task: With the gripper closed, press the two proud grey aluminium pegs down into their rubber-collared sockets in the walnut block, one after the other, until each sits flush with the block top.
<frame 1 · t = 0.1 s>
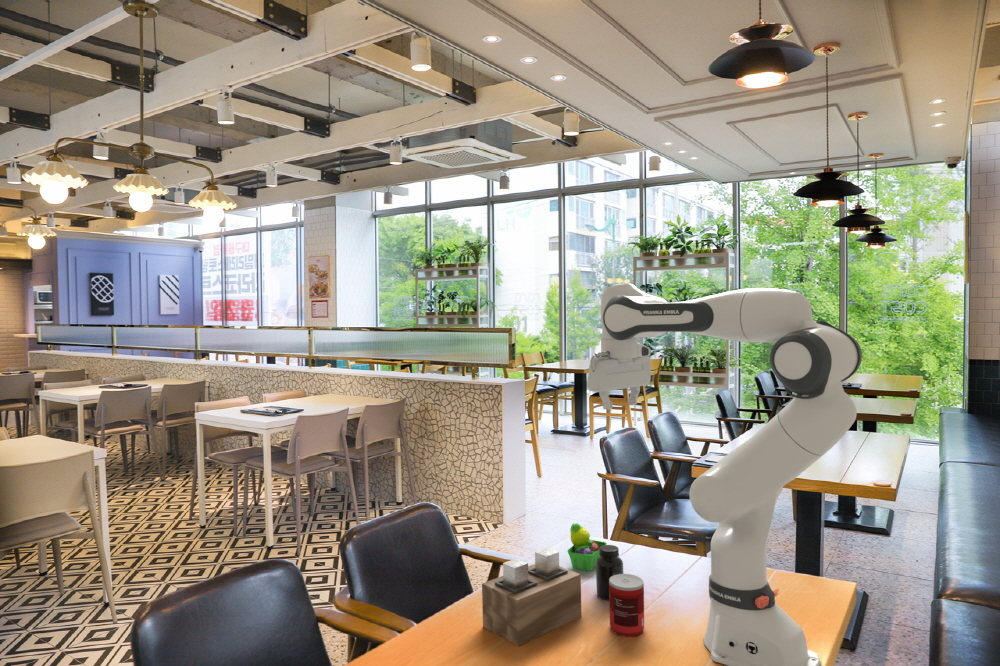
hand: (620, 407, 162), 48 cm above the table, fingers open, 8 cm apart
peg b: (515, 582, 149), point 10 cm above the table, slide at 0.0 cm
fruit basket: (585, 564, 187), on the table
socket block: (532, 621, 153), on the table
canned food: (627, 629, 149), on the table
peg a: (547, 570, 156), point 10 cm above the table, slide at 0.0 cm
supplement bottle: (610, 595, 166), on the table
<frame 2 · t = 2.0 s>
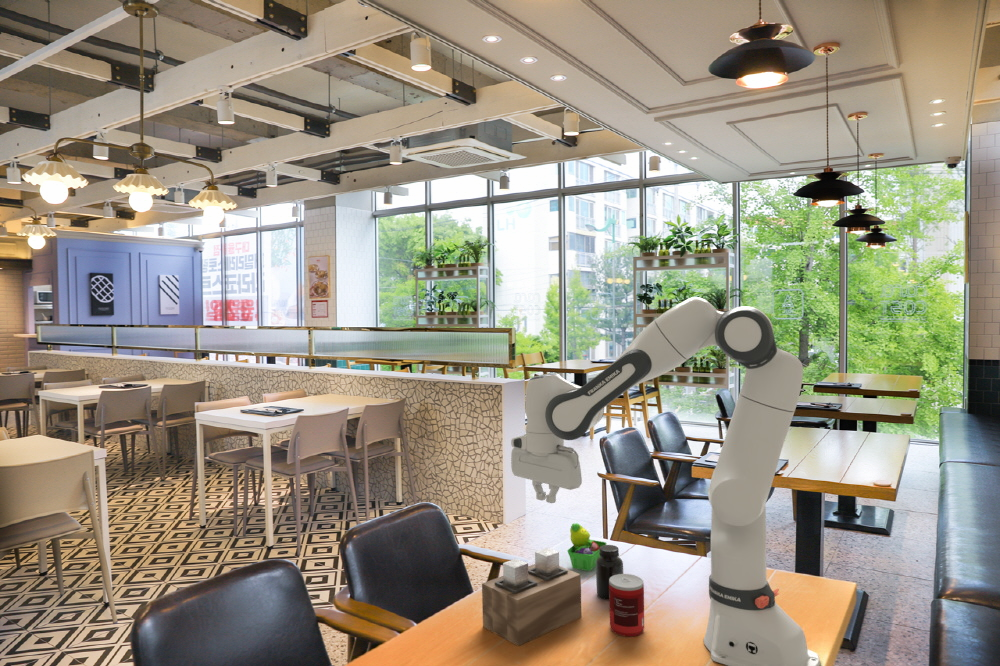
hand: (546, 501, 155), 27 cm above the table, fingers closed
nothing on the table moved.
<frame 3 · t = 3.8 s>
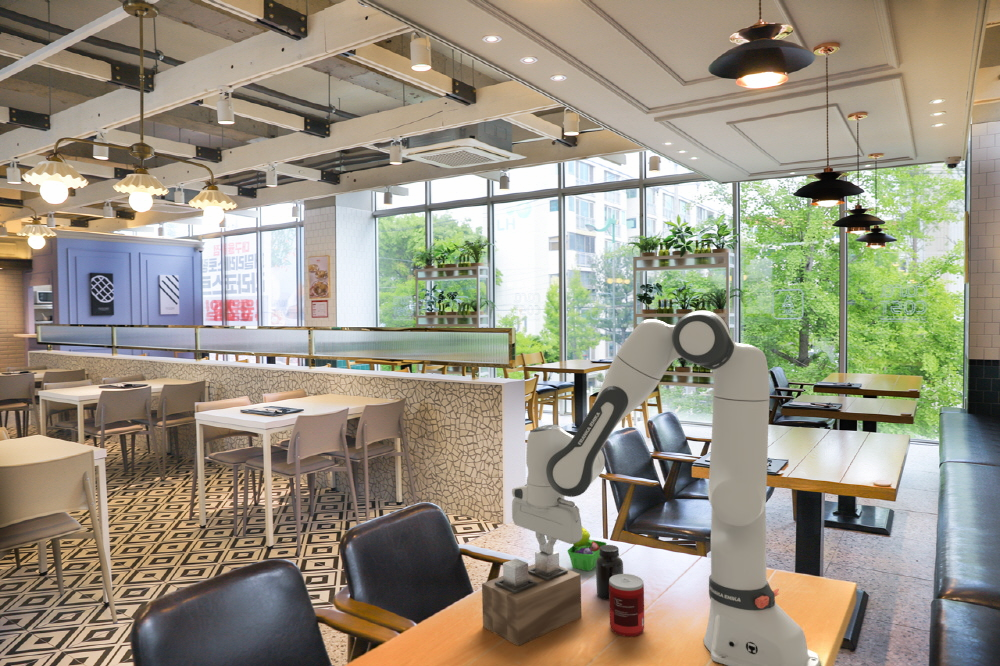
hand: (546, 552, 156), 15 cm above the table, fingers closed, pressing on peg a
peg a: (547, 571, 156), point 10 cm above the table, slide at 0.1 cm, touching gripper
everything else where it was.
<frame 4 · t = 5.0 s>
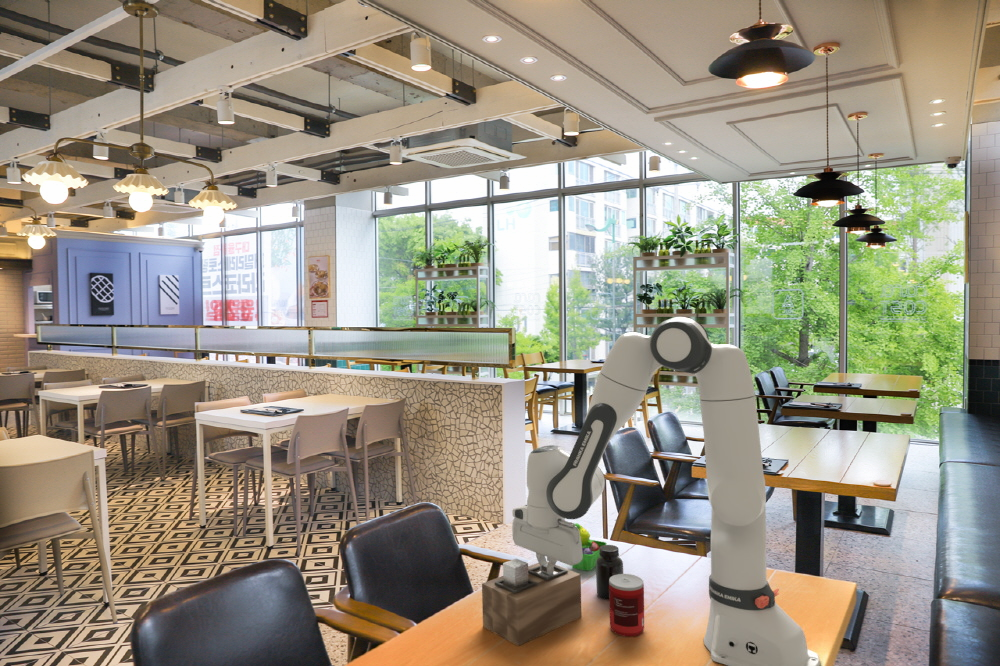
hand: (546, 572, 156), 10 cm above the table, fingers closed, pressing on peg a
peg a: (547, 591, 156), point 5 cm above the table, slide at 5.0 cm, touching gripper
everything else where it was.
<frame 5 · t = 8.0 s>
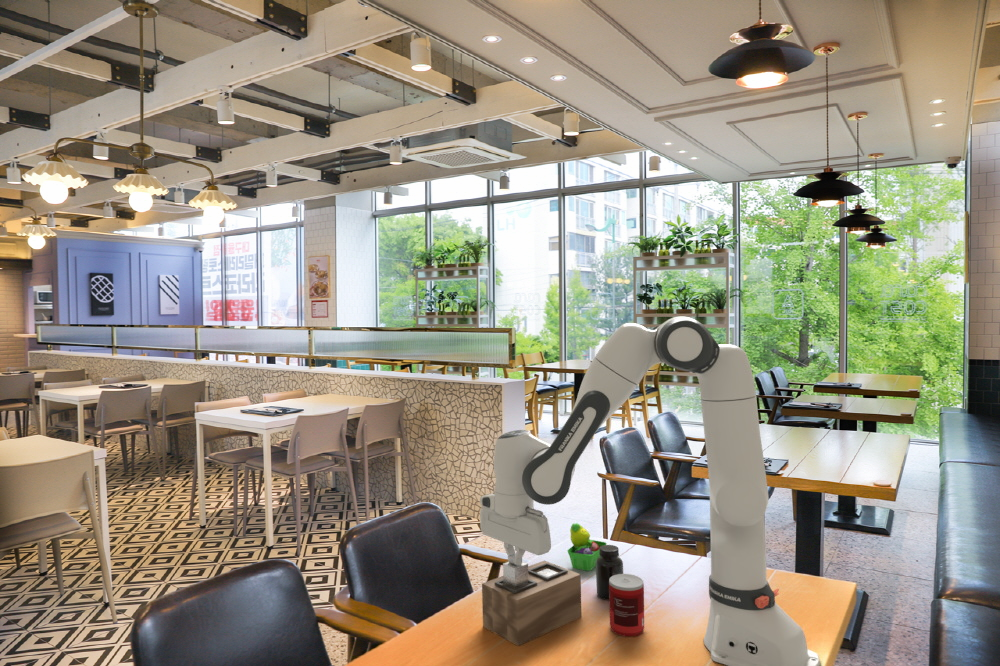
hand: (515, 563, 149), 15 cm above the table, fingers closed, pressing on peg b
peg b: (515, 583, 149), point 10 cm above the table, slide at 0.1 cm, touching gripper
peg a: (547, 591, 156), point 5 cm above the table, slide at 5.0 cm
everything else where it was.
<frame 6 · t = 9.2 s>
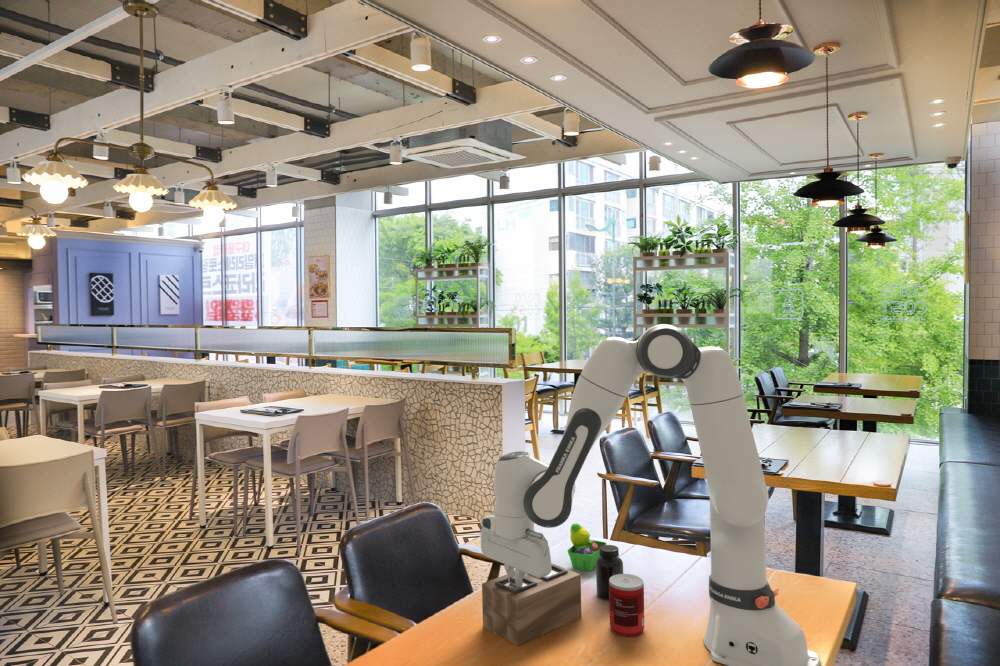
hand: (515, 585, 149), 10 cm above the table, fingers closed, pressing on peg b
peg b: (516, 604, 149), point 5 cm above the table, slide at 5.0 cm, touching gripper
everything else where it was.
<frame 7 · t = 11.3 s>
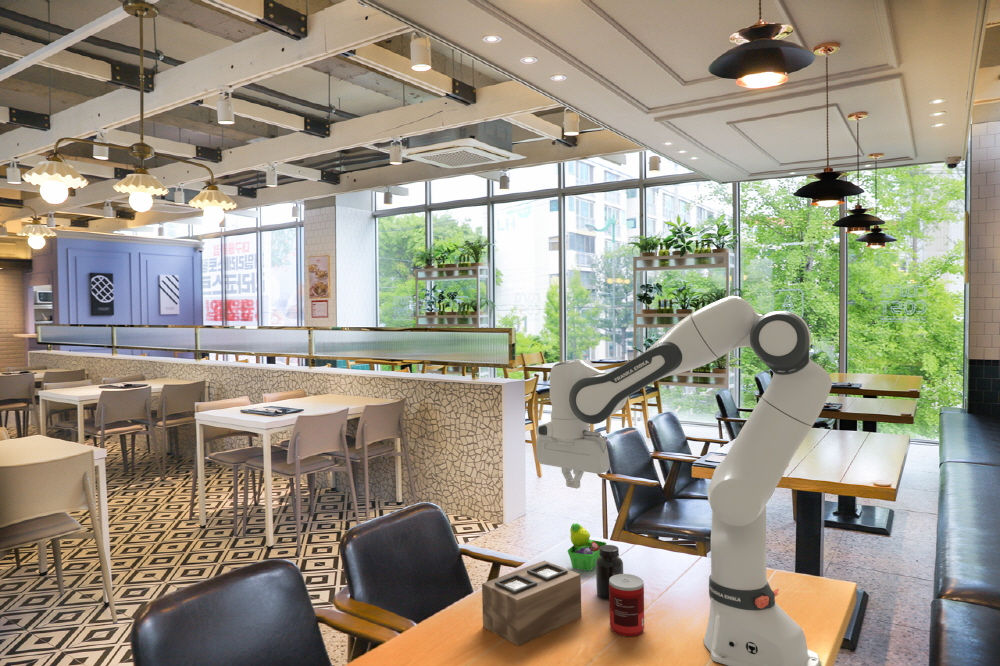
hand: (573, 487, 156), 30 cm above the table, fingers closed
peg b: (516, 604, 149), point 5 cm above the table, slide at 5.0 cm
everything else where it was.
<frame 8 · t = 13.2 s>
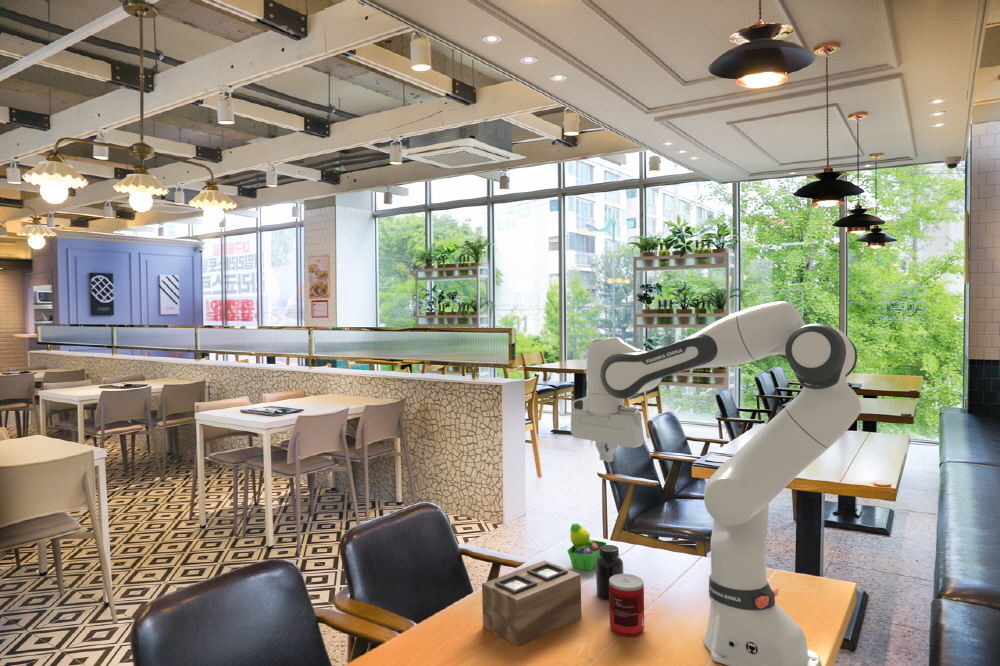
hand: (606, 460, 160), 35 cm above the table, fingers closed
nothing on the table moved.
at the end: peg a slide at 5.0 cm; peg b slide at 5.0 cm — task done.
